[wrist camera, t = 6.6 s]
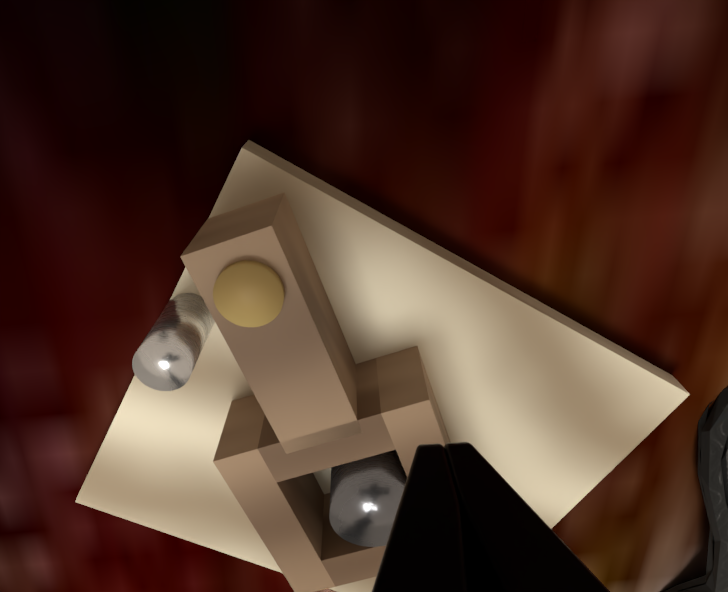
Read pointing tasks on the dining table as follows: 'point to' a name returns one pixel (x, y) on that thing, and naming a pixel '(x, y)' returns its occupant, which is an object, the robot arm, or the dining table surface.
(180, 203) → the dining table surface
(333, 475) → the grey round canister
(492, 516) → the robot arm
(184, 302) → the dowel pin
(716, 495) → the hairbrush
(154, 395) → the birch board
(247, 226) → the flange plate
